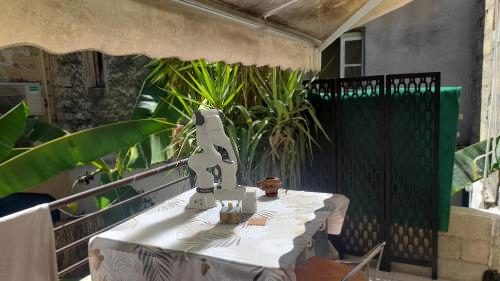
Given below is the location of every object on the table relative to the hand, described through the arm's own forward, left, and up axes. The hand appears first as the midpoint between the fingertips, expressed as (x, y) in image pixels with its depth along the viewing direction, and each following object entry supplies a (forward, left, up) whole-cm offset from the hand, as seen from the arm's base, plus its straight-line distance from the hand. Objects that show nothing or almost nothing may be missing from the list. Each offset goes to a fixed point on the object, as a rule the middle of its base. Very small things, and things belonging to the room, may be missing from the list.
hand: (230, 206), depth 222 cm
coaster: (+17, 0, -10) cm, 20 cm away
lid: (0, 0, -4) cm, 4 cm away
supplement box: (+9, +19, -10) cm, 23 cm away
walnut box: (0, 0, -10) cm, 10 cm away
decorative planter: (+19, +58, -10) cm, 62 cm away
